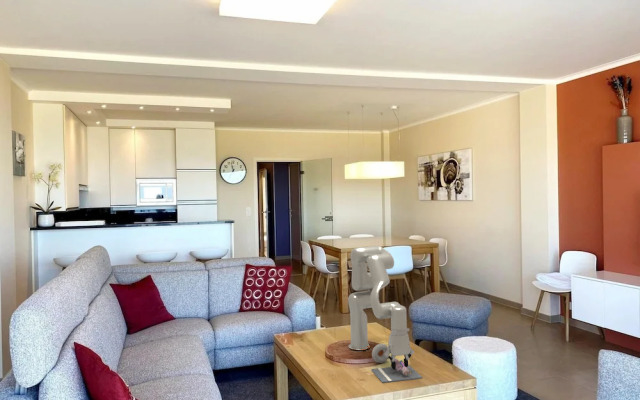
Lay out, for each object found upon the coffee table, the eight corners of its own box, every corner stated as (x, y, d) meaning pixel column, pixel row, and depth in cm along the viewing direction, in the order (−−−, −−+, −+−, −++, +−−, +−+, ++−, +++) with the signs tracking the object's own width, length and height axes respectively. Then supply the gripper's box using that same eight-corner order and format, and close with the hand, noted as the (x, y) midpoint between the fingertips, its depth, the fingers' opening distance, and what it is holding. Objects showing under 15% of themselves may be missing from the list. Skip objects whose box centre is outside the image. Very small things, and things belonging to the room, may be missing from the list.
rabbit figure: (413, 376, 228) (396, 361, 241) (414, 365, 227) (396, 350, 240) (402, 379, 225) (385, 363, 238) (403, 367, 224) (386, 352, 237)
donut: (373, 365, 245) (373, 346, 245) (370, 363, 248) (370, 344, 248) (391, 362, 248) (390, 343, 248) (388, 360, 251) (387, 341, 251)
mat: (371, 370, 239) (371, 368, 239) (408, 365, 243) (408, 364, 243) (382, 383, 223) (382, 381, 223) (422, 378, 227) (422, 376, 227)
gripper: (412, 327, 238) (413, 363, 239) (379, 330, 235) (380, 367, 235) (418, 332, 231) (419, 369, 232) (384, 335, 227) (385, 373, 228)
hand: (399, 367), depth 233 cm, fingers closed on rabbit figure, 5 cm apart
